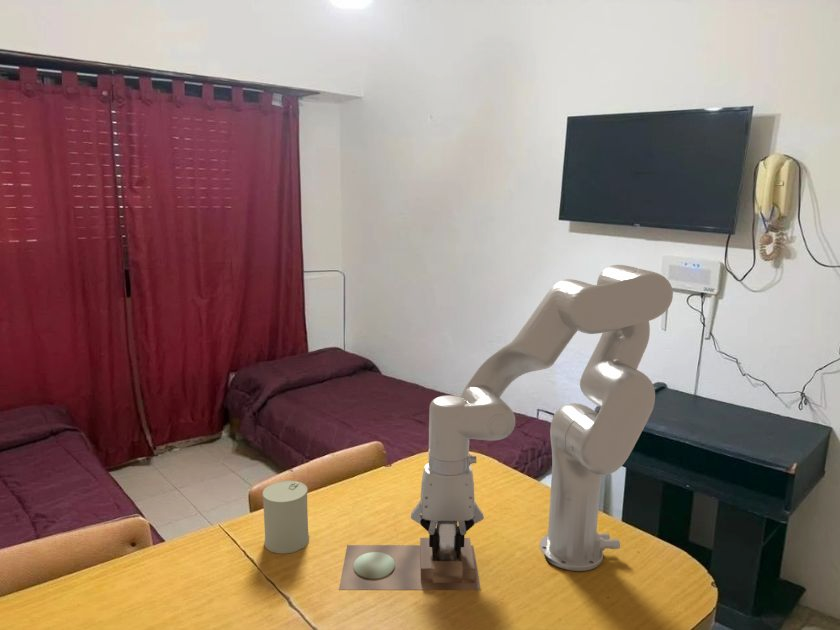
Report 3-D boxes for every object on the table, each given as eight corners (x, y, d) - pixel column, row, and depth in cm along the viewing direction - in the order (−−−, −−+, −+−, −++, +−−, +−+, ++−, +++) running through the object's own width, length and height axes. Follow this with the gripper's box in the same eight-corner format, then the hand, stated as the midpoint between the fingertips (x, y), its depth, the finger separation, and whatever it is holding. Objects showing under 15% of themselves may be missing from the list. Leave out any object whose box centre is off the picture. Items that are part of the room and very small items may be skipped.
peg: (455, 560, 119) (456, 514, 116) (457, 572, 115) (458, 525, 113) (435, 560, 118) (436, 514, 116) (436, 572, 115) (437, 525, 113)
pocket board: (473, 549, 124) (473, 532, 123) (480, 594, 110) (481, 575, 109) (347, 549, 123) (346, 531, 123) (339, 594, 110) (338, 575, 109)
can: (318, 535, 128) (316, 484, 126) (290, 558, 120) (288, 504, 118) (284, 524, 132) (282, 474, 130) (255, 546, 124) (252, 493, 122)
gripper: (490, 453, 116) (487, 538, 120) (404, 453, 116) (403, 538, 119) (495, 471, 109) (492, 561, 112) (403, 471, 108) (402, 561, 112)
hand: (446, 548), depth 116 cm, fingers closed on peg, 4 cm apart
